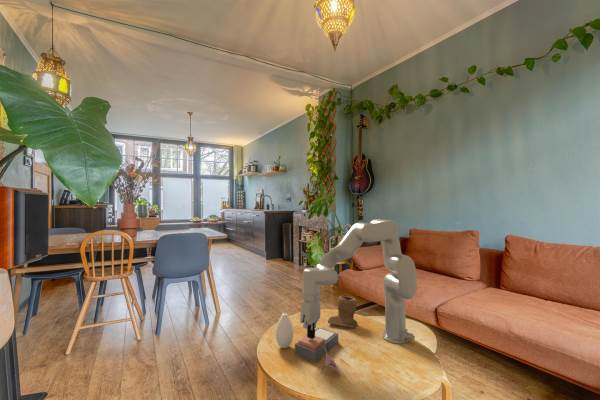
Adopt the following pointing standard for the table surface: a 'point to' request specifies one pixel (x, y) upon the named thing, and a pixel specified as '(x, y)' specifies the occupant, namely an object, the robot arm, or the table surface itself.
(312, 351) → the key console
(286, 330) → the sauce bottle
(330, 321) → the brown boot
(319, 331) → the key white
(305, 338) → the key terracotta
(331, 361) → the lily
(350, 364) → the table surface
